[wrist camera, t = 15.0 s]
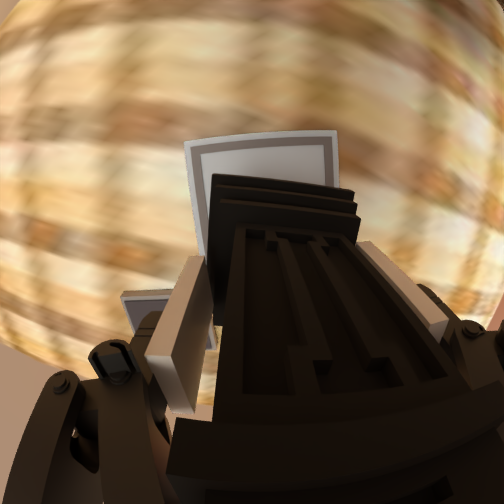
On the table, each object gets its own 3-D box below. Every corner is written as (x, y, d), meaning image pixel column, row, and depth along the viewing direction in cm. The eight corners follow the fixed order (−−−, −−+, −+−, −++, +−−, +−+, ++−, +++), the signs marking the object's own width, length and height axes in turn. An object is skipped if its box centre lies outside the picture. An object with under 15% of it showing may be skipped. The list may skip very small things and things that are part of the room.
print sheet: (184, 141, 23) (183, 141, 22) (335, 130, 23) (337, 130, 22) (204, 278, 28) (203, 281, 28) (337, 267, 28) (338, 269, 27)
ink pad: (123, 291, 29) (119, 298, 27) (206, 287, 29) (204, 294, 27) (143, 344, 32) (139, 351, 30) (217, 343, 32) (216, 351, 30)
